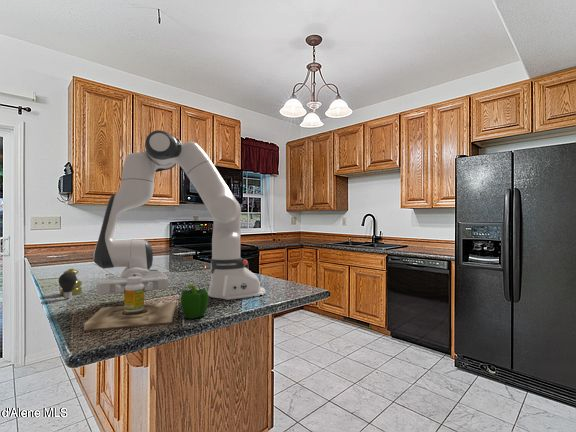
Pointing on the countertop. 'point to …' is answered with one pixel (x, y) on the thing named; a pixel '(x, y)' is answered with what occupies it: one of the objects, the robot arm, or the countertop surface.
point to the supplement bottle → (134, 295)
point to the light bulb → (67, 283)
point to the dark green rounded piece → (76, 288)
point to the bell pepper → (194, 302)
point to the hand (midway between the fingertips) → (134, 289)
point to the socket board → (131, 317)
